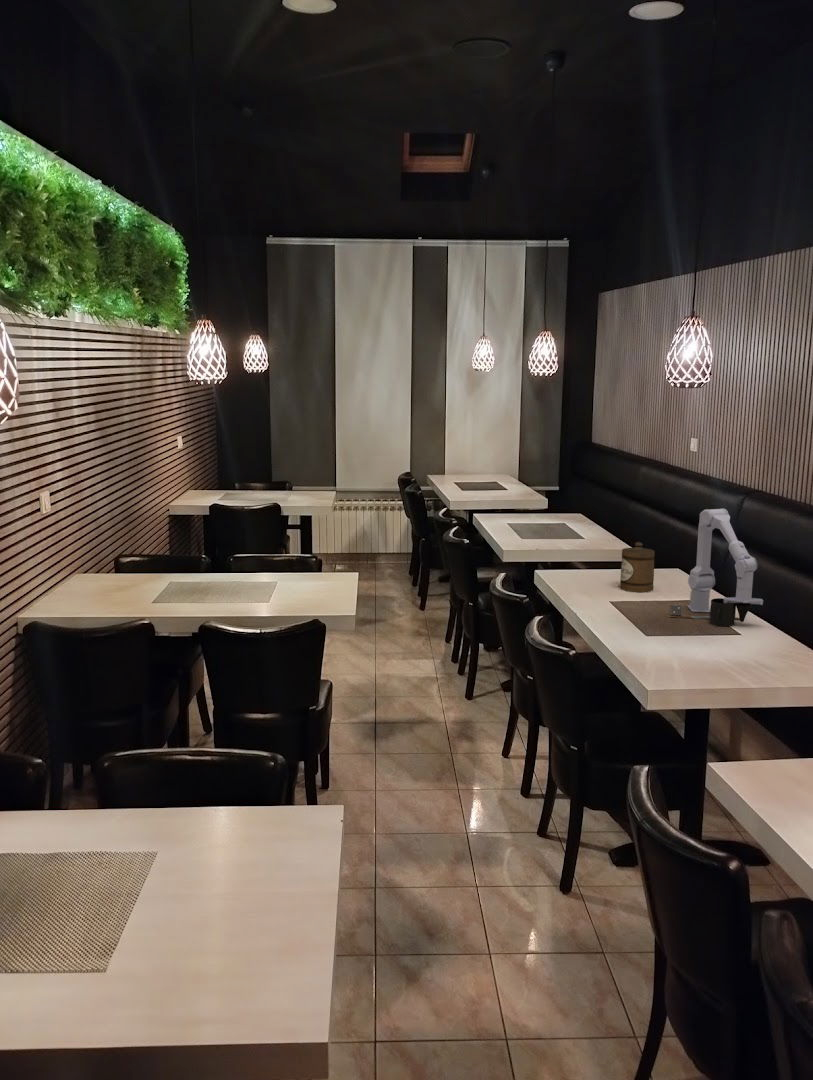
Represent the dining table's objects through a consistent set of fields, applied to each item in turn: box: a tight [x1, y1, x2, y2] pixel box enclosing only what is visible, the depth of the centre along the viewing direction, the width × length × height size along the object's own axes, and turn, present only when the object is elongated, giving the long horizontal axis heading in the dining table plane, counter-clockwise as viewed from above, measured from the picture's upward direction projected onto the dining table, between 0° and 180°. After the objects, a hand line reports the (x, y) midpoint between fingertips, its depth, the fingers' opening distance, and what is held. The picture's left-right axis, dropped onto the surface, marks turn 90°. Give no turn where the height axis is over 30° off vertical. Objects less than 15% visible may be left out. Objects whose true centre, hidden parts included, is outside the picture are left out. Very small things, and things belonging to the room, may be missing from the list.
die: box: [669, 604, 683, 615], centre depth 353 cm, size 4×4×4 cm
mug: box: [709, 597, 737, 627], centre depth 342 cm, size 9×12×9 cm
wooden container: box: [619, 541, 656, 593], centre depth 398 cm, size 15×15×22 cm
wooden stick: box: [665, 614, 740, 621], centre depth 351 cm, size 2×28×1 cm, turn 83°
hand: (741, 621), depth 341 cm, fingers closed
